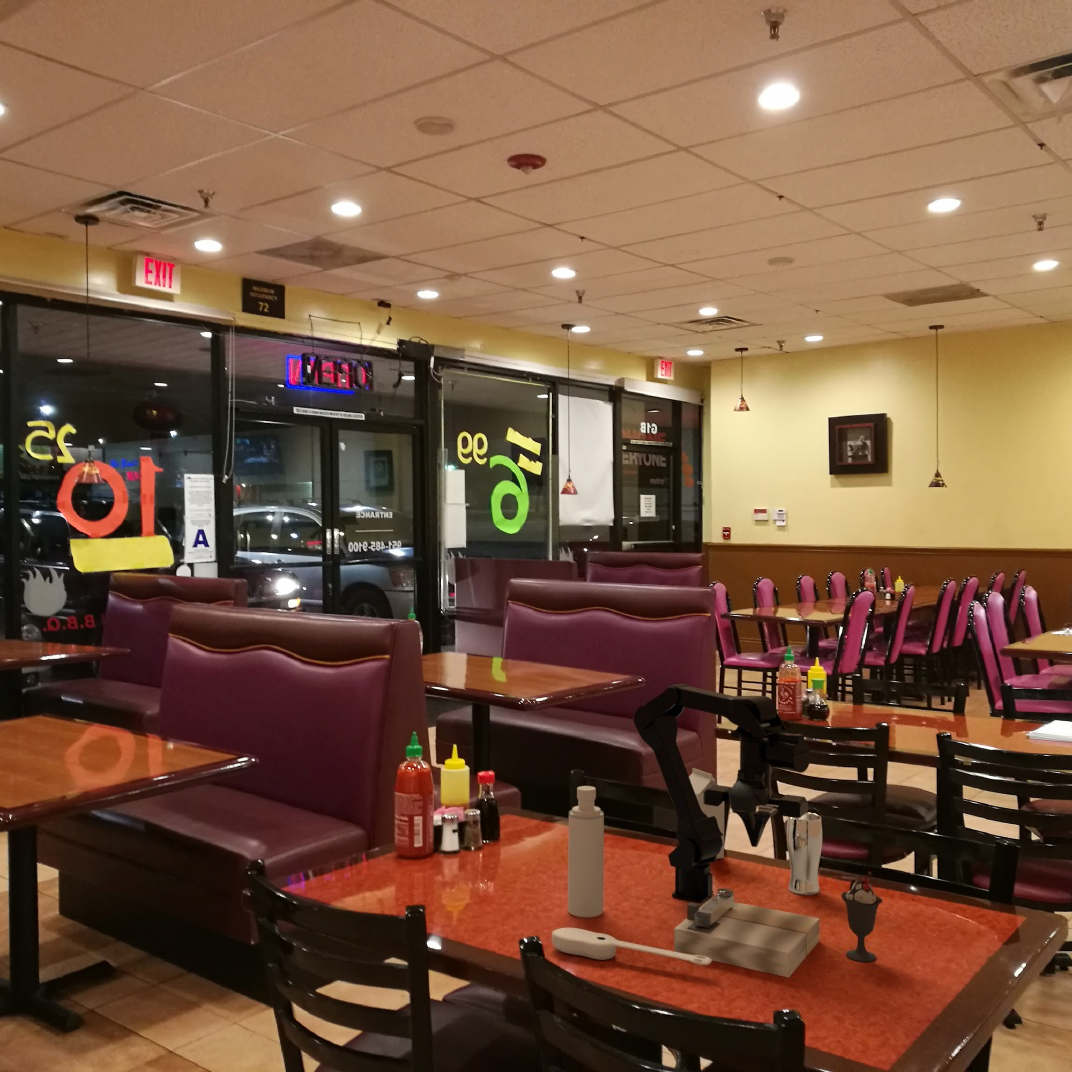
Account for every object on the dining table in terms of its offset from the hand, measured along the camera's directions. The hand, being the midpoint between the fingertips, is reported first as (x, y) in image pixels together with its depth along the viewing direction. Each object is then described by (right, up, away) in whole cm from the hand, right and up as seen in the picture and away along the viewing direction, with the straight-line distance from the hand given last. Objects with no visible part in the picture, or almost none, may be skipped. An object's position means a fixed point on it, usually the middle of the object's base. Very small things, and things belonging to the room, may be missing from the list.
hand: (754, 846), depth 197 cm
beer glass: (+13, -13, +14) cm, 23 cm away
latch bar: (-10, -8, -12) cm, 18 cm away
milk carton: (-4, -13, +36) cm, 39 cm away
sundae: (+14, -13, -19) cm, 27 cm away
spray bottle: (-32, -13, +1) cm, 34 cm away
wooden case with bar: (-4, -13, -15) cm, 20 cm away
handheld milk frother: (-26, -13, -22) cm, 36 cm away
